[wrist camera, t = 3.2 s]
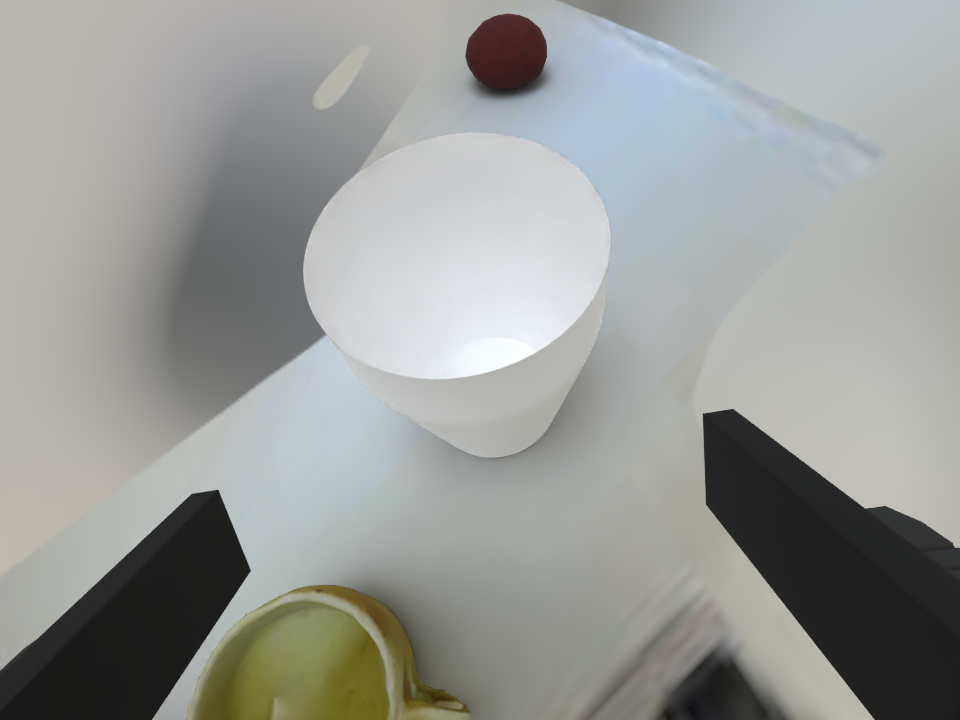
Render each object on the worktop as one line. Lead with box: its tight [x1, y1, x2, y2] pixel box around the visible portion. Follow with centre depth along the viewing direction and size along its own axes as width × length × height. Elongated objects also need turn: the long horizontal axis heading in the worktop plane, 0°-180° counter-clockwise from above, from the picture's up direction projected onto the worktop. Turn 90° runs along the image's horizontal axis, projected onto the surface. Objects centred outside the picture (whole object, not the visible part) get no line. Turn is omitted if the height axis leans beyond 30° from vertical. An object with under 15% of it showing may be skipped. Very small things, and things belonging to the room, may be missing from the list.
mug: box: [186, 585, 471, 720], centre depth 23 cm, size 12×10×10 cm
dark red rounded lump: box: [465, 14, 547, 89], centre depth 47 cm, size 7×8×6 cm
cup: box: [303, 133, 611, 458], centre depth 26 cm, size 13×13×17 cm
